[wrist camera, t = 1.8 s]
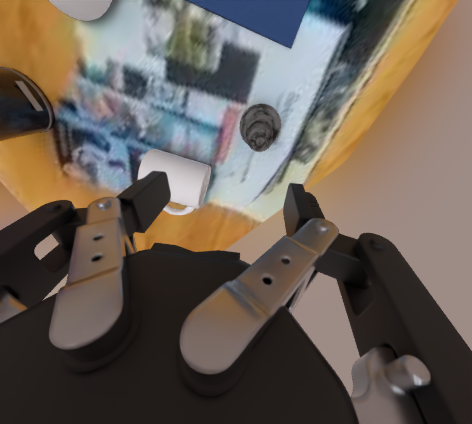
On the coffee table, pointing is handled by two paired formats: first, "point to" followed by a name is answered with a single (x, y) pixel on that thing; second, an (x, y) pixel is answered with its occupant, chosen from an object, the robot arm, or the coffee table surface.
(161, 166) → the mug
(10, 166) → the coffee table surface
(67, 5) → the flower in vase
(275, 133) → the dark grey turned piece
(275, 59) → the coffee table surface
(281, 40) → the blue notebook
